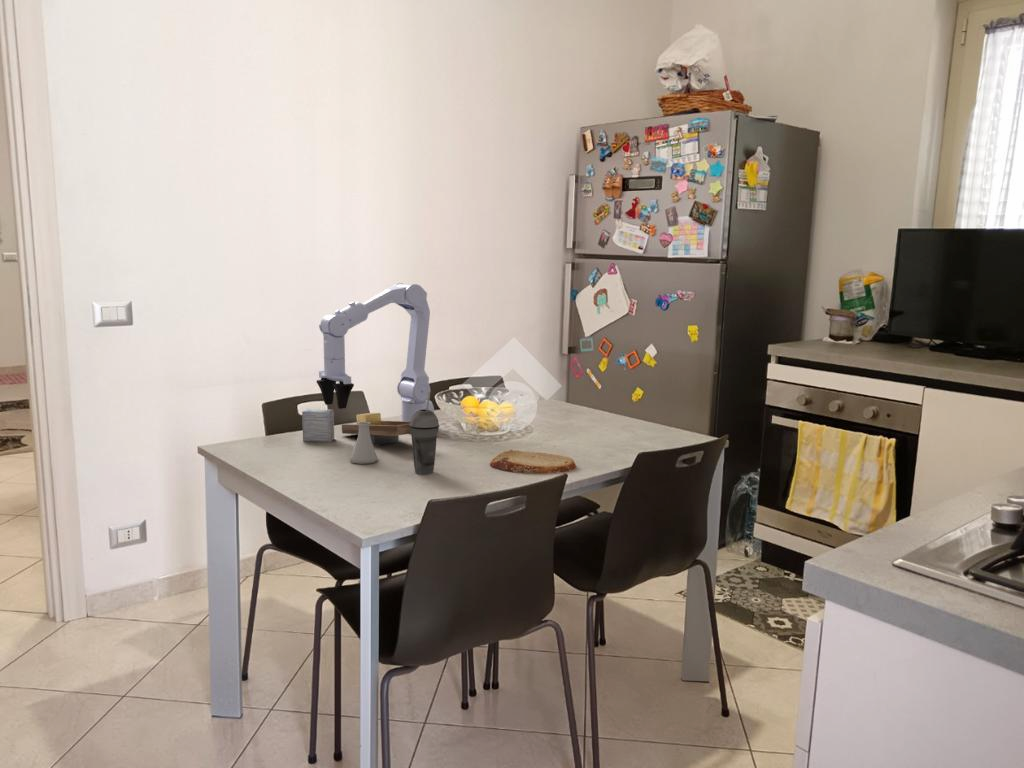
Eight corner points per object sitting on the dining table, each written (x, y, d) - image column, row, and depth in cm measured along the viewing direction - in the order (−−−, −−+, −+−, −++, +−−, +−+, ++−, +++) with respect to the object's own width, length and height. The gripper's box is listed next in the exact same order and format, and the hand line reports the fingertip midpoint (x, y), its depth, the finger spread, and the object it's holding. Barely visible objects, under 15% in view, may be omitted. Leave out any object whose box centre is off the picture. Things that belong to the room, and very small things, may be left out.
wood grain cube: (372, 426, 235) (371, 412, 234) (381, 426, 231) (380, 412, 231) (357, 428, 231) (356, 414, 231) (366, 428, 228) (365, 414, 227)
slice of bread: (582, 469, 203) (583, 455, 202) (530, 481, 191) (531, 466, 191) (534, 455, 216) (534, 442, 216) (482, 466, 204) (482, 451, 204)
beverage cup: (409, 468, 199) (409, 388, 196) (439, 468, 200) (439, 389, 197) (408, 476, 192) (408, 394, 189) (439, 476, 193) (439, 394, 190)
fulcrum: (394, 440, 229) (394, 430, 229) (398, 441, 228) (398, 431, 227) (370, 444, 224) (370, 434, 223) (374, 445, 222) (374, 435, 222)
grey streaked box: (334, 439, 229) (334, 409, 228) (329, 442, 225) (329, 412, 224) (307, 437, 230) (307, 408, 229) (302, 441, 226) (301, 411, 224)
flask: (347, 464, 202) (346, 425, 200) (353, 457, 209) (352, 419, 208) (375, 465, 202) (375, 426, 200) (380, 458, 209) (380, 420, 207)
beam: (372, 429, 240) (371, 420, 240) (425, 431, 219) (425, 421, 218) (342, 433, 233) (341, 424, 233) (394, 436, 212) (394, 426, 212)
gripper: (308, 356, 226) (310, 403, 228) (334, 362, 215) (335, 411, 217) (331, 354, 230) (332, 401, 232) (357, 360, 220) (358, 408, 222)
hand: (335, 406), depth 225 cm, fingers open, 7 cm apart
